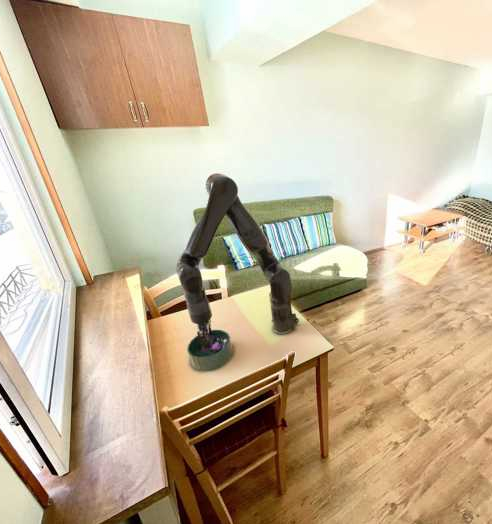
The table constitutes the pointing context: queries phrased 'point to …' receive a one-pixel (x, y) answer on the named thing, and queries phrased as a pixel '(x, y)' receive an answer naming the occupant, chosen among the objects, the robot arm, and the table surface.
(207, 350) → the game card
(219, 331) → the bowl
